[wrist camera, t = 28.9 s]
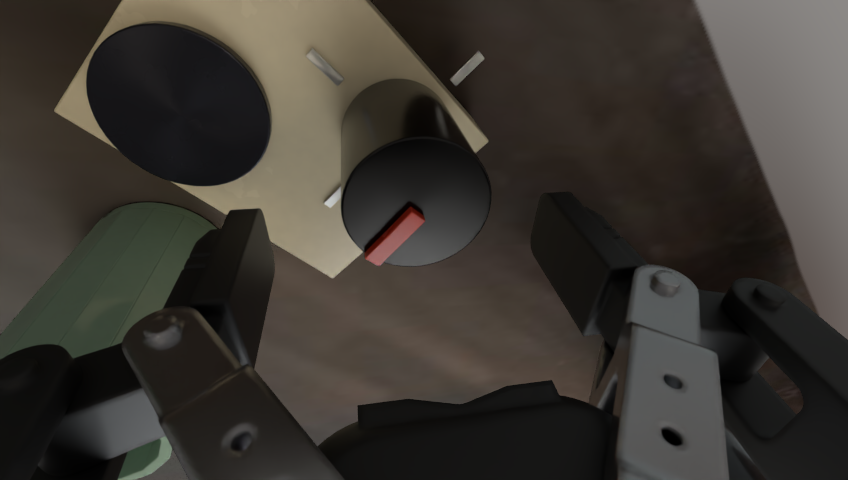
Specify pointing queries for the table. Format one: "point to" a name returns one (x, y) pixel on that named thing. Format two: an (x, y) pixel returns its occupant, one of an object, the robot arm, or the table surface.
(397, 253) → the stove knob
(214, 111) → the burner
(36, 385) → the robot arm
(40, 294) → the green cup
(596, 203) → the table surface
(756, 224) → the table surface
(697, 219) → the table surface
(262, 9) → the stove
